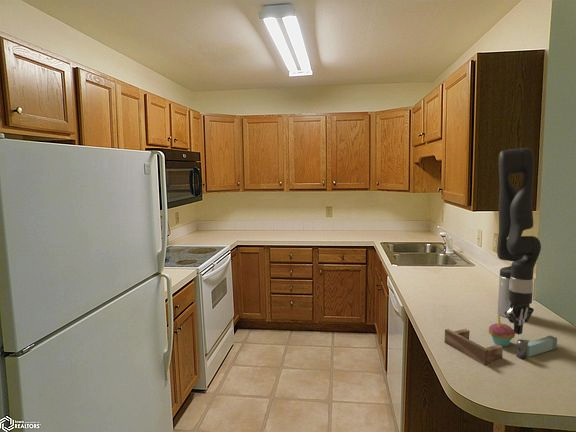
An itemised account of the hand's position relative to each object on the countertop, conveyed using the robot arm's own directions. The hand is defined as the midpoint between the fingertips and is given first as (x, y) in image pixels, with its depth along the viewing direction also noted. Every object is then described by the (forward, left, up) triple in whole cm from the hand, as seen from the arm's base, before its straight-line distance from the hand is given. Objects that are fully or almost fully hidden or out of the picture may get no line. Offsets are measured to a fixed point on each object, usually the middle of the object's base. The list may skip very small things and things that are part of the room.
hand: (517, 333), depth 140 cm
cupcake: (+9, 0, -2) cm, 9 cm away
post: (+11, +10, -2) cm, 15 cm away
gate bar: (+2, +10, -2) cm, 10 cm away
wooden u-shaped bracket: (+22, 0, -2) cm, 22 cm away
